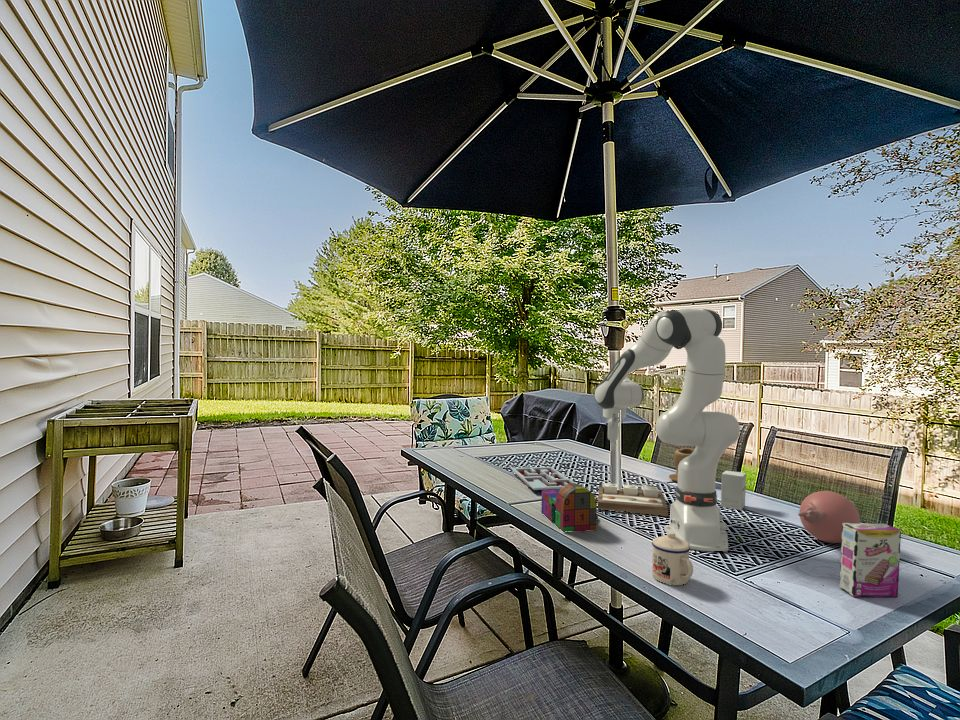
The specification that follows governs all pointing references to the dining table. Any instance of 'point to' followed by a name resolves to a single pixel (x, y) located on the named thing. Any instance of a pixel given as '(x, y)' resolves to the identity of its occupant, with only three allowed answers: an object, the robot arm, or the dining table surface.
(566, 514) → the block puzzle
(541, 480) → the maze game
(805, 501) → the red onion
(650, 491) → the right button
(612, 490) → the left button
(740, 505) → the supplement box
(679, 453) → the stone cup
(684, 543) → the teacup with lid
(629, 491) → the middle button
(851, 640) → the dining table surface
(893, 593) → the candy bar box
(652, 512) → the button board
